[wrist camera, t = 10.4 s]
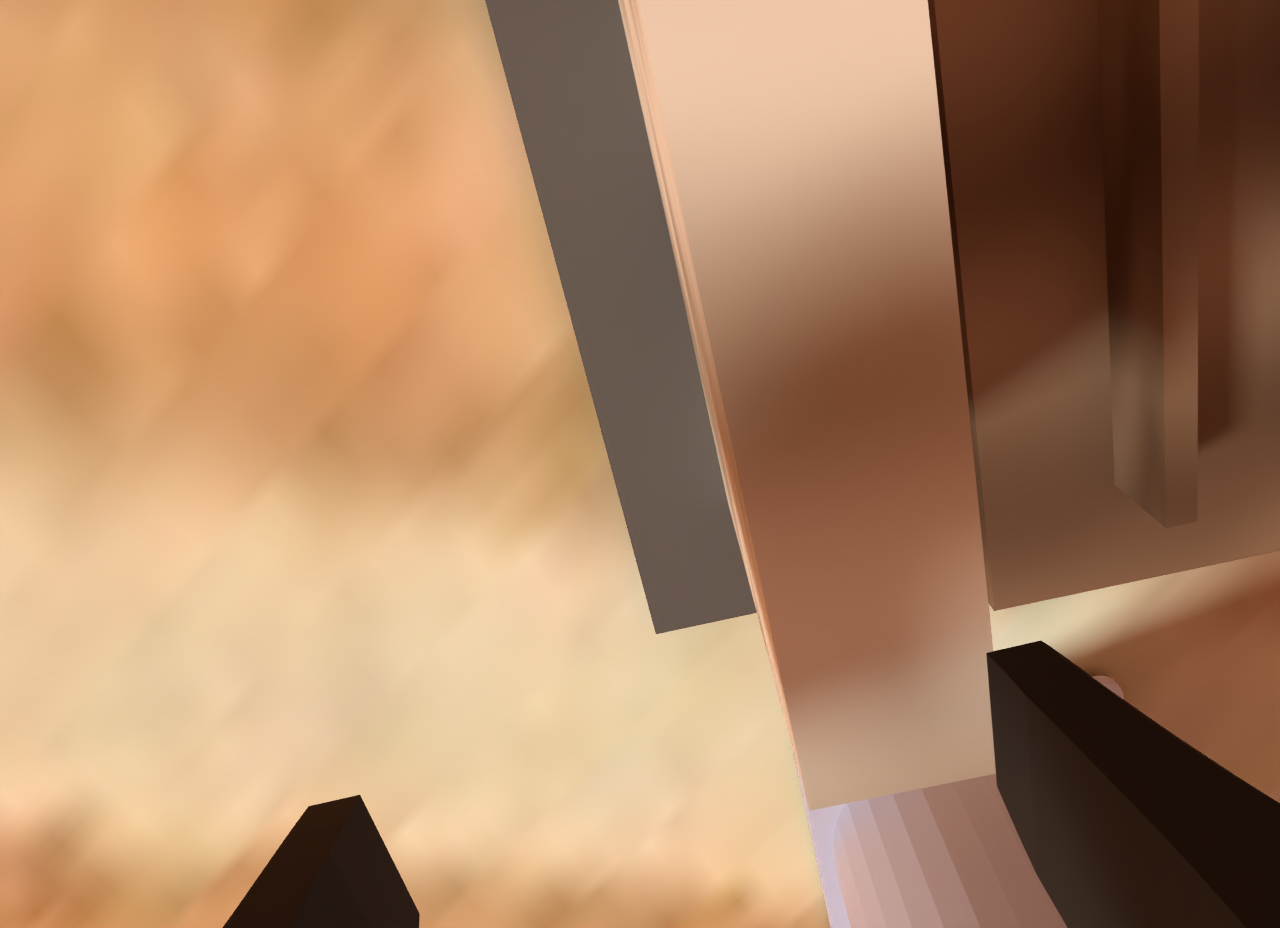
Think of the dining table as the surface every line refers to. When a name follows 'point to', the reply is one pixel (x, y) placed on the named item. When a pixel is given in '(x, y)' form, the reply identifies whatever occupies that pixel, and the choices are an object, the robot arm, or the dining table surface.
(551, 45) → the gray rectangular plate
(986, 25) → the walnut rack
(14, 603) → the dining table surface
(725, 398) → the brown rectangular block
